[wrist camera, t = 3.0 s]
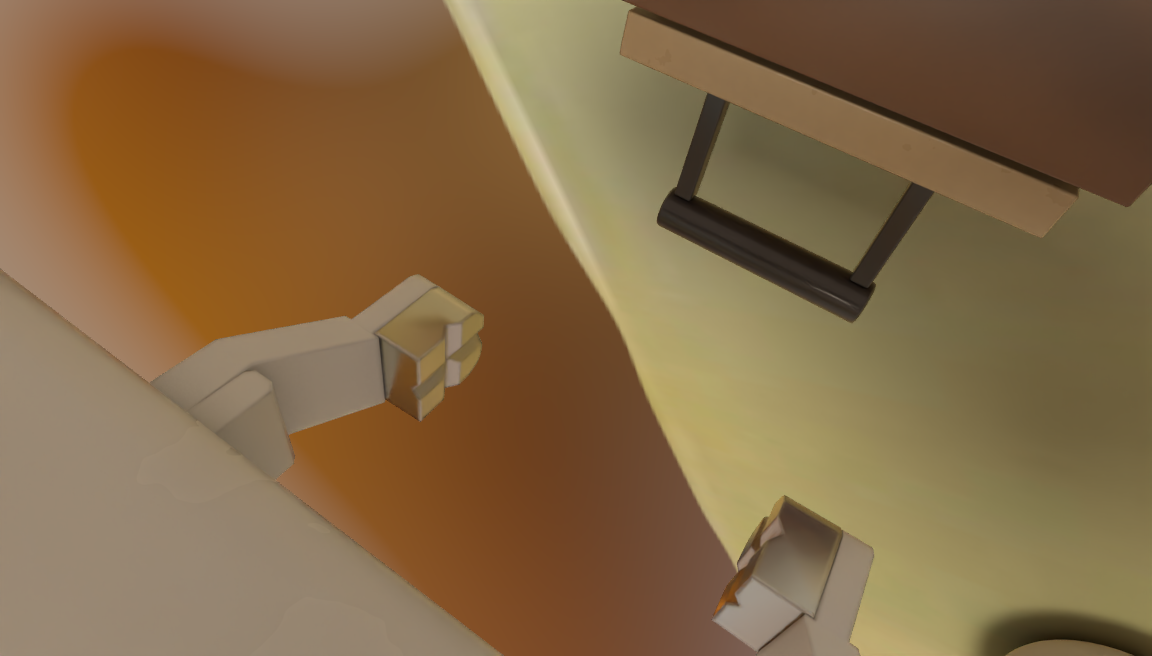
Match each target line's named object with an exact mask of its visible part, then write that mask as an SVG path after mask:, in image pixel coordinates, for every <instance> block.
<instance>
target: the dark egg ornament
mask: <svg viewBox="0 0 1152 656" xmlns="http://www.w3.org/2000/svg"><path fill="white" fill-rule="evenodd" d="M1005 656H1134V655H1131V654H1129V653H1126V652H1123V651H1121V650H1118V649H1114V648H1111V647H1108V646H1104V645H1100V644H1095V643H1090V642H1084V641H1077V640H1045V641H1038V642H1034V643H1030V644H1027V645H1024V646H1021V647H1019V648H1017V649H1015V650H1013V651H1011V652H1010V653H1008V654H1007V655H1005Z"/></svg>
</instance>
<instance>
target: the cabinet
mask: <svg viewBox="0 0 1152 656" xmlns="http://www.w3.org/2000/svg"><path fill="white" fill-rule="evenodd" d="M623 1H625V2H627V3H630V4H632V5H635V6H637V7H640V8H642V9H645V10H647V11H649V12H652V13H654V14H657V15H659V16H662V17H664V18H666V19H669V20H671V21H674V22H676V23H679V24H681V25H684V26H686V27H688V28H691V29H693V30H696V31H698V32H701V33H703V34H705V35H708V36H710V37H713V38H715V39H718V40H720V41H723V42H725V43H727V44H730V45H732V46H735V47H737V48H740V49H742V50H745V51H747V52H749V53H752V54H754V55H757V56H759V57H762V58H764V59H766V60H769V61H771V62H774V63H776V64H779V65H781V66H784V67H786V68H788V69H791V70H793V71H796V72H798V73H801V74H803V75H805V76H808V77H810V78H813V79H815V80H818V81H820V82H823V83H825V84H827V85H830V86H832V87H835V88H837V89H840V90H842V91H845V92H847V93H849V94H852V95H854V96H857V97H859V98H862V99H864V100H866V101H869V102H871V103H874V104H876V105H879V106H881V107H884V108H886V109H888V110H891V111H893V112H896V113H898V114H901V115H903V116H905V117H908V118H910V119H913V120H915V121H918V122H920V123H923V124H925V125H927V126H930V127H932V128H935V129H937V130H940V131H942V132H945V133H947V134H949V135H952V136H954V137H957V138H959V139H962V140H964V141H966V142H969V143H971V144H974V145H976V146H979V147H981V148H984V149H986V150H988V151H991V152H993V153H996V154H998V155H1001V156H1003V157H1005V158H1008V159H1010V160H1013V161H1015V162H1018V163H1020V164H1023V165H1025V166H1027V167H1030V168H1032V169H1035V170H1037V171H1040V172H1042V173H1045V174H1047V175H1049V176H1052V177H1054V178H1057V179H1059V180H1062V181H1064V182H1066V183H1069V184H1071V185H1074V186H1076V187H1079V188H1081V189H1084V190H1086V191H1088V192H1091V193H1093V194H1096V195H1098V196H1101V197H1103V198H1105V199H1108V200H1110V201H1113V202H1115V203H1118V204H1120V205H1123V206H1125V207H1129V206H1131V205H1132V204H1133V203H1134V201H1135V200H1136V199H1137V198H1138V197H1139V196H1140V195H1141V194H1142V193H1143V192H1144V191H1145V190H1146V189H1147V188H1148V187H1149V186H1150V185H1151V184H1152V0H623Z"/></svg>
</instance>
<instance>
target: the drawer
mask: <svg viewBox="0 0 1152 656" xmlns="http://www.w3.org/2000/svg"><path fill="white" fill-rule="evenodd" d="M620 55H622V56H625V57H627V58H629V59H632V60H634V61H636V62H638V63H641V64H643V65H645V66H648V67H650V68H652V69H654V70H657V71H659V72H661V73H664V74H666V75H668V76H670V77H673V78H675V79H677V80H680V81H682V82H684V83H687V84H689V85H691V86H693V87H696V88H698V89H700V90H703V91H705V92H707V96H706V99H705V102H704V105H703V108H702V111H701V114H700V117H699V120H698V123H697V127H696V130H695V133H694V136H693V139H692V142H691V145H690V148H689V151H688V154H687V157H686V160H685V163H684V166H683V169H682V172H681V175H680V178H679V181H678V184H677V187H675V188H673V189H672V190H671V191H670V192H669V194H668V195H667V197H666V198H665V200H664V202H663V204H662V206H661V208H660V210H659V213H658V217H657V224H658V225H659V226H661V227H663V228H665V229H667V230H669V231H671V232H673V233H675V234H677V235H679V236H681V237H683V238H685V239H687V240H689V241H691V242H693V243H695V244H697V245H699V246H700V247H702V248H704V249H706V250H708V251H710V252H712V253H714V254H716V255H718V256H720V257H722V258H724V259H726V260H728V261H730V262H732V263H734V264H736V265H738V266H740V267H742V268H744V269H746V270H748V271H750V272H752V273H754V274H756V275H757V276H759V277H761V278H763V279H765V280H767V281H769V282H771V283H773V284H775V285H777V286H779V287H781V288H783V289H785V290H787V291H789V292H791V293H793V294H795V295H797V296H799V297H801V298H803V299H805V300H807V301H809V302H811V303H813V304H814V305H816V306H818V307H820V308H822V309H824V310H826V311H828V312H830V313H832V314H834V315H836V316H838V317H840V318H842V319H844V320H846V321H848V322H850V323H853V322H854V321H856V319H857V318H858V317H859V316H860V314H861V313H862V311H863V310H864V308H865V306H866V305H867V303H868V301H869V300H870V298H871V296H872V294H873V292H874V290H875V287H876V284H875V283H874V282H873V281H874V279H875V278H876V276H877V275H878V273H879V272H880V270H881V269H882V267H883V266H884V265H885V263H886V262H887V260H888V259H889V257H890V256H891V254H892V253H893V251H894V250H895V249H896V247H897V246H898V244H899V243H900V241H901V240H902V238H903V237H904V235H905V234H906V233H907V231H908V230H909V228H910V227H911V225H912V224H913V222H914V221H915V219H916V218H917V216H918V215H919V214H920V212H921V211H922V209H923V208H924V206H925V205H926V203H927V202H928V200H929V199H930V198H931V196H932V195H933V193H934V192H936V193H939V194H941V195H943V196H945V197H948V198H950V199H952V200H955V201H957V202H959V203H962V204H964V205H966V206H968V207H971V208H973V209H975V210H978V211H980V212H982V213H984V214H987V215H989V216H991V217H994V218H996V219H998V220H1000V221H1003V222H1005V223H1007V224H1010V225H1012V226H1014V227H1017V228H1019V229H1021V230H1023V231H1026V232H1028V233H1030V234H1033V235H1035V236H1037V237H1039V238H1042V237H1044V236H1045V235H1046V233H1047V232H1048V231H1049V230H1050V229H1051V228H1052V227H1053V226H1054V224H1055V223H1056V222H1057V221H1058V220H1059V219H1060V218H1061V217H1062V215H1063V214H1064V213H1065V212H1066V211H1067V210H1068V209H1069V208H1070V207H1071V205H1072V204H1073V203H1074V202H1075V201H1076V200H1077V199H1078V197H1079V187H1076V186H1074V185H1071V184H1069V183H1066V182H1064V181H1062V180H1059V179H1057V178H1054V177H1052V176H1049V175H1047V174H1045V173H1042V172H1040V171H1037V170H1035V169H1032V168H1030V167H1027V166H1025V165H1023V164H1020V163H1018V162H1015V161H1013V160H1010V159H1008V158H1005V157H1003V156H1001V155H998V154H996V153H993V152H991V151H988V150H986V149H984V148H981V147H979V146H976V145H974V144H971V143H969V142H966V141H964V140H962V139H959V138H957V137H954V136H952V135H949V134H947V133H945V132H942V131H940V130H937V129H935V128H932V127H930V126H927V125H925V124H923V123H920V122H918V121H915V120H913V119H910V118H908V117H905V116H903V115H901V114H898V113H896V112H893V111H891V110H888V109H886V108H884V107H881V106H879V105H876V104H874V103H871V102H869V101H866V100H864V99H862V98H859V97H857V96H854V95H852V94H849V93H847V92H845V91H842V90H840V89H837V88H835V87H832V86H830V85H827V84H825V83H823V82H820V81H818V80H815V79H813V78H810V77H808V76H805V75H803V74H801V73H798V72H796V71H793V70H791V69H788V68H786V67H784V66H781V65H779V64H776V63H774V62H771V61H769V60H766V59H764V58H762V57H759V56H757V55H754V54H752V53H749V52H747V51H745V50H742V49H740V48H737V47H735V46H732V45H730V44H727V43H725V42H723V41H720V40H718V39H715V38H713V37H710V36H708V35H705V34H703V33H701V32H698V31H696V30H693V29H691V28H688V27H686V26H684V25H681V24H679V23H676V22H674V21H671V20H669V19H666V18H664V17H662V16H659V15H657V14H654V13H652V12H649V11H647V10H645V9H642V8H640V7H635V8H633V9H631V10H629V12H628V16H627V21H626V25H625V30H624V35H623V39H622V44H621V49H620ZM730 103H732V104H735V105H737V106H739V107H742V108H744V109H746V110H748V111H751V112H753V113H755V114H758V115H760V116H762V117H764V118H767V119H769V120H771V121H774V122H776V123H778V124H780V125H783V126H785V127H787V128H790V129H792V130H794V131H797V132H799V133H801V134H803V135H806V136H808V137H810V138H813V139H815V140H817V141H819V142H822V143H824V144H826V145H829V146H831V147H833V148H835V149H838V150H840V151H842V152H845V153H847V154H849V155H852V156H854V157H856V158H858V159H861V160H863V161H865V162H868V163H870V164H872V165H874V166H877V167H879V168H881V169H884V170H886V171H888V172H890V173H893V174H895V175H897V176H900V177H902V178H904V179H907V180H909V181H911V182H910V184H909V185H908V187H907V188H906V190H905V191H904V193H903V195H902V196H901V198H900V199H899V201H898V202H897V204H896V205H895V207H894V208H893V210H892V212H891V213H890V215H889V216H888V218H887V219H886V221H885V222H884V224H883V226H882V227H881V229H880V230H879V232H878V233H877V235H876V236H875V238H874V239H873V241H872V243H871V244H870V246H869V247H868V249H867V250H866V252H865V253H864V255H863V257H862V258H861V260H860V261H859V263H858V264H857V266H856V267H855V269H854V271H853V272H852V271H850V270H847V269H845V268H843V267H841V266H839V265H837V264H835V263H833V262H831V261H829V260H827V259H825V258H823V257H821V256H819V255H817V254H815V253H813V252H810V251H808V250H806V249H804V248H802V247H800V246H798V245H796V244H794V243H792V242H790V241H788V240H786V239H784V238H782V237H780V236H778V235H776V234H773V233H771V232H769V231H767V230H765V229H763V228H761V227H759V226H757V225H755V224H753V223H751V222H749V221H747V220H745V219H743V218H741V217H739V216H736V215H734V214H732V213H730V212H728V211H726V210H724V209H722V208H720V207H718V206H716V205H714V204H712V203H710V202H708V201H706V200H704V199H702V198H699V197H697V196H695V195H696V194H697V192H698V190H699V187H700V184H701V181H702V179H703V176H704V173H705V170H706V167H707V165H708V162H709V159H710V156H711V154H712V151H713V148H714V145H715V142H716V140H717V137H718V134H719V131H720V129H721V126H722V123H723V120H724V117H725V115H726V112H727V109H728V106H729V104H730Z"/></svg>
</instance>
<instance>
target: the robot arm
mask: <svg viewBox="0 0 1152 656" xmlns="http://www.w3.org/2000/svg"><path fill="white" fill-rule="evenodd" d="M483 319H484V315H483V314H481V313H479V312H478V311H476V310H475V309H473V308H472V307H470V306H468V305H467V304H465V303H464V302H462V301H460V300H459V299H457V298H456V297H454V296H453V295H451V294H450V293H448V292H446V291H445V290H443V289H442V288H440V287H439V286H437V285H435V284H434V283H432V282H430V281H429V280H427V279H425V278H424V277H422V276H420V275H414V276H411V277H409V278H407V279H406V280H404V281H403V282H402V283H400V284H399V285H397V286H396V287H395V288H393V289H392V290H391V291H389V292H388V293H387V294H385V295H384V296H383V297H381V298H380V299H379V300H377V301H376V302H375V303H373V304H372V305H370V306H369V307H368V308H366V309H365V310H364V311H362V312H361V313H360V314H358V315H357V316H355V317H354V318H353V319H350V318H348V317H346V316H343V317H337V318H332V319H327V320H320V321H315V322H309V323H304V324H298V325H293V326H287V327H282V328H276V329H271V330H265V331H260V332H254V333H249V334H243V335H238V336H232V337H227V338H221V339H216V340H214V341H213V342H211V343H210V344H208V345H207V346H205V347H204V348H202V349H201V350H199V351H197V352H196V353H194V354H193V355H191V356H190V357H188V358H187V359H185V360H184V361H182V362H181V363H179V364H177V365H176V366H174V367H173V368H171V369H170V370H168V371H167V372H165V373H164V374H162V375H160V376H159V377H157V378H156V379H155V380H153V381H151V382H150V383H148V382H147V381H146V380H145V379H143V378H142V377H141V376H139V375H138V374H137V373H135V372H134V371H133V370H132V369H130V368H129V367H128V366H126V365H125V364H124V363H122V362H121V361H120V360H118V359H117V358H116V357H115V356H113V355H112V354H111V353H109V352H108V351H107V350H106V349H104V348H103V347H102V346H100V345H99V344H98V343H96V342H95V341H94V340H93V339H91V338H90V337H89V336H87V335H86V334H85V333H83V332H82V331H81V330H79V329H78V328H77V327H76V326H74V325H73V324H72V323H70V322H69V321H68V320H66V319H65V318H64V317H63V316H61V315H60V314H59V313H57V312H56V311H55V310H53V309H52V308H51V307H50V306H48V305H47V304H46V303H44V302H43V301H42V300H40V299H39V298H38V297H36V296H35V295H34V294H33V293H31V292H30V291H29V290H27V289H26V288H25V287H23V286H22V285H21V284H19V283H18V282H17V281H15V280H14V279H13V278H12V277H10V276H9V275H8V274H7V273H5V272H4V271H3V270H2V269H0V656H504V655H502V654H501V653H499V652H498V651H497V650H496V649H494V648H493V647H492V646H490V645H489V644H488V643H487V642H485V641H484V640H483V639H481V638H480V637H479V636H477V635H476V634H475V633H474V632H472V631H471V630H470V629H468V628H467V627H466V626H464V625H463V624H462V623H460V622H459V621H458V620H457V619H455V618H454V617H453V616H451V615H450V614H449V613H448V612H446V611H445V610H444V609H442V608H441V607H440V606H438V605H437V604H436V603H435V602H433V601H432V600H431V599H429V598H428V597H427V596H425V595H424V594H423V593H422V592H420V591H419V590H418V589H416V588H415V587H414V586H412V585H411V584H410V583H409V582H407V581H406V580H405V579H403V578H402V577H401V576H399V575H398V574H397V573H396V572H394V571H393V570H392V569H390V568H389V567H388V566H386V565H385V564H384V563H383V562H381V561H380V560H379V559H377V558H376V557H374V556H373V555H372V554H371V553H369V552H368V551H367V550H366V549H364V548H363V547H362V546H360V545H359V544H358V543H357V542H355V541H354V540H353V539H351V538H350V537H349V536H347V535H346V534H345V533H344V532H342V531H341V530H340V529H338V528H337V527H335V526H334V525H333V524H332V523H330V522H329V521H328V520H327V519H325V518H324V517H323V516H321V515H320V514H319V513H318V512H316V511H315V510H314V509H312V508H311V507H310V506H308V505H307V504H306V503H304V502H303V501H302V500H301V499H299V498H298V497H297V496H295V495H294V494H293V493H292V492H290V491H289V490H288V489H286V488H285V487H284V486H282V485H281V484H280V483H279V482H277V481H276V480H275V479H277V478H278V477H279V476H280V475H281V474H282V473H283V472H285V470H287V469H288V468H289V467H290V466H291V465H292V464H293V463H294V458H295V455H294V452H293V449H292V445H291V442H290V439H289V436H288V435H289V434H291V433H294V432H297V431H300V430H303V429H306V428H309V427H312V426H315V425H318V424H321V423H324V422H327V421H330V420H333V419H336V418H339V417H342V416H345V415H348V414H351V413H354V412H357V411H360V410H362V409H366V408H369V407H372V406H375V405H377V404H380V403H384V402H385V400H387V401H389V402H390V403H392V404H393V405H395V406H396V407H398V408H400V409H401V410H403V411H404V412H406V413H408V414H409V415H411V416H412V417H414V418H415V419H417V420H418V421H420V422H421V421H422V420H423V419H424V418H425V417H426V416H427V415H428V414H429V413H430V412H431V411H432V410H433V409H434V408H435V407H436V406H437V405H438V404H439V403H440V402H442V401H443V400H444V394H445V388H446V387H450V386H454V385H459V384H460V383H461V382H462V381H463V380H464V379H465V378H466V377H467V376H468V375H469V374H470V373H471V371H472V369H473V368H474V366H475V365H476V363H477V362H478V359H479V356H480V353H481V348H482V342H481V340H480V338H479V336H478V334H477V333H478V332H479V331H480V330H481V329H482V328H483ZM873 558H874V551H873V548H872V547H871V546H869V545H867V544H866V543H864V542H862V541H861V540H859V539H857V538H855V537H854V536H852V535H850V534H849V533H847V532H845V531H843V530H841V528H840V527H839V526H837V525H835V524H833V523H832V522H830V521H828V520H827V519H825V518H823V517H821V516H820V515H818V514H816V513H815V512H813V511H811V510H809V509H808V508H806V507H804V506H803V505H801V504H799V503H797V502H796V501H794V500H792V499H791V498H789V497H787V496H785V495H784V496H782V497H781V498H780V499H779V500H778V501H777V502H776V504H775V505H774V507H773V509H772V511H771V514H770V516H769V517H764V518H763V520H762V521H761V522H760V524H759V525H758V526H757V528H756V529H755V531H754V532H753V534H752V535H751V537H750V538H749V540H748V542H747V544H746V546H745V548H744V550H743V552H742V554H741V556H740V558H739V560H738V562H737V567H738V573H737V574H736V575H735V576H734V578H733V579H732V580H731V581H730V582H729V583H728V585H727V586H726V588H725V590H724V593H723V595H722V597H721V599H720V602H719V604H718V606H717V608H716V610H715V613H714V615H713V617H712V620H713V621H714V622H716V623H717V624H718V625H720V626H721V627H723V628H724V629H725V630H727V631H729V632H730V633H731V634H732V635H734V636H735V637H737V638H738V639H739V640H741V641H742V642H744V643H745V644H746V645H748V646H749V647H751V648H752V649H753V650H755V651H756V652H758V653H757V654H756V656H860V653H859V650H858V648H856V647H855V646H854V645H852V644H851V643H849V641H850V638H851V634H852V631H853V627H854V624H855V620H856V617H857V614H858V610H859V607H860V603H861V600H862V596H863V593H864V589H865V586H866V582H867V579H868V576H869V572H870V569H871V565H872V562H873Z"/></svg>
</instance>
